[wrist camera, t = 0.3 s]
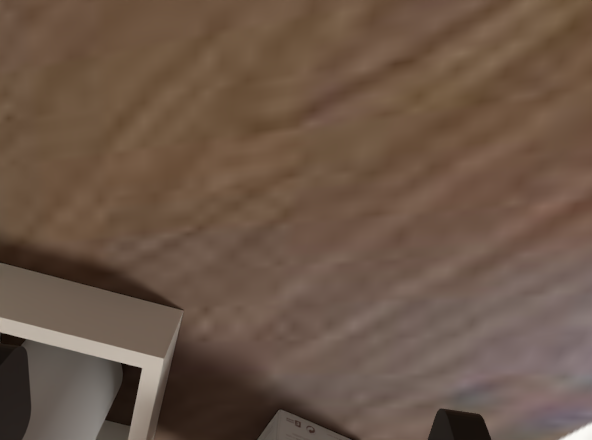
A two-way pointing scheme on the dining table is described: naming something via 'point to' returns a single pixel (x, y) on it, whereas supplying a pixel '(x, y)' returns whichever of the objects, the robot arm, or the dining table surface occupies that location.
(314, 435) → the supplement box
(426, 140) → the dining table surface
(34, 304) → the holder
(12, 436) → the robot arm
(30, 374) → the beverage can
